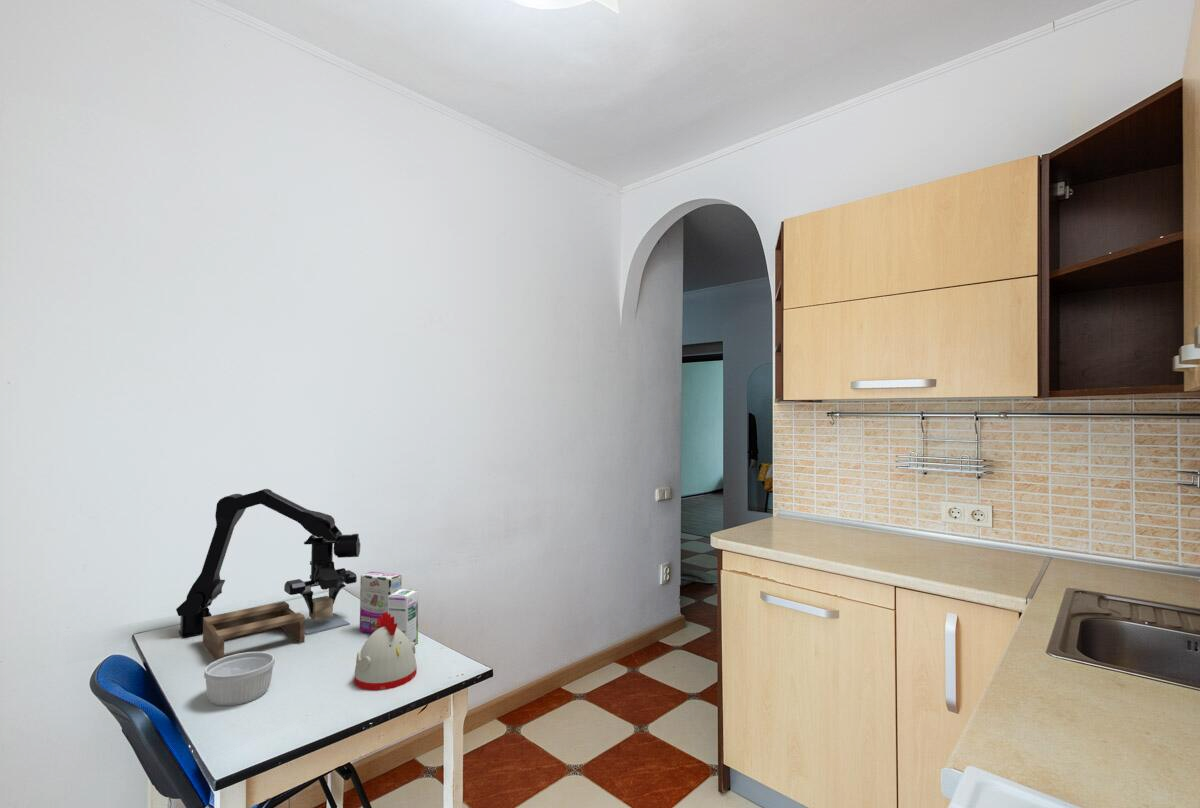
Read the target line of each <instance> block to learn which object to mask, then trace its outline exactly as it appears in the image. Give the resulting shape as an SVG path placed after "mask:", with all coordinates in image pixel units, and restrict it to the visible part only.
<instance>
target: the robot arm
mask: <svg viewBox="0 0 1200 808" xmlns="http://www.w3.org/2000/svg"><path fill="white" fill-rule="evenodd" d="M258 505H263V506H264V507H266V508H269V509H270V510H272V511H275V512H277V513H279V514H281V515H283V516H284V517H287V518H289V519H290V520H293V521H295V522H296V523H298V524H300V525H301V526H302V528H304V530H306V532H308V533H309V534H310V536H309V537H308V538H307V539H306V540H305V541H303V544H304V545H311V556H310V557H311V559H310V561H309V565H310V575H309V579H310V580H306V581H303V580H301V579H300V578H298V579H292V580H287V581H286V582H285V583H284V586H283V587H284V589H283V591H284V592H285V593H286V594H288V595H291V596H294V595H298V594H300V596H302V597H303V599H304V601H305V603H306V606H307V608H308V612H309V611H310V613H311V614H312V613H313V600H312V599H313V596H314V591H312V587H313V588H314V587H318V586H319V587H320V589H321V590H325V591H326V590H328V597H330V598H332V599H333V605H334V604H335V602H336V598H337V596H338V594H339V592H340V591H341V590H342V589H343V588H346V585H349V584H350V585H351V584H355V583H357V579H358V578H357V573H355V572H353V571H352V570H346V568H345V567H343V568H337V569H336V567H335V562H334V561H333V558H334V556H336V557H337V558H340V559H341V558H358V557H360V553H361V542H360V538H359V537H360V536H359V533H352V534H343V533H342V531H341V530H340V529H339V528H338V526H336V521H335V518H334V517H333V516H332V515H330V514H328V513H325V512H320V511H315V510H310V509H307V508H305V507H304V506H301V505H300V504H297V503H296V502H293V501H292V500H289V499H287V498H286V497H283V496H282V495H280V494H277V493H276V492H273V490H271V489H269V488H264V489H261V490H258V491H255V492H254V491H253V492H251V493H246V494H241V493H234V494H230V495H226V496H224V497H221V498H220V499H219V500H218V502H216V508H215V515H214V517H215V523H216V524H215V525H216V527H215V529H214V532H213V535H212V538H211V542H210V544H209V547H208V551H207V553H206V557H205V560H204V561H203V562H204V563H203V566H202V569H201V572H200V573H199V576H198V577H197V578H196V580H195V581H194V583H193V584H192V586H191V587H190V589H189V591H188V593H187V595H186V599H185V600H184V601H183V602H182V603H181V604H180V605H179V606H177V607H176V609H175V611H176V613H177V616H178V617H179V618H180V623H179V624H180V627H179V630H178V634H179V635H180V637H181V638H183V639H185V638H191V637H194V636H198V635H203V618H204V617H209V616H212V613H211V612H210V608H209V607H210V606H211V605H212V603H213V601H214V600H216V599H217V598H218V596H219V595H221V594H222V593H223V586H224V584H225V582H226V579H221V576H220V574H221V569H222V567H223V563H224V560H225V557H226V554H227V552H228V549H229V545H230V542H231V538H232V536H233V532H234V529H235V527H236V525H237V523H238V522H239V521H240V519H241V518H242V516H243V515H244V513H245V511H246V509H247V508H250V507H254V506H258ZM333 555H334V556H333Z"/></svg>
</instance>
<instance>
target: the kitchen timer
mask: <svg viewBox="0 0 1200 808" xmlns="http://www.w3.org/2000/svg"><path fill="white" fill-rule="evenodd" d="M377 622H378V628H379V629H377V630H376V631H375V632H374V633H373V634H370V635H369V637H368V638H367V639H366V641H365V643H364V644H363V645H362V647H361V650H360V651H357V653H356V661H355V663H356V664H355V666H354V667H355V668H354V679H353V680H354V684H355V686H356V687H358V688H360V689H362V690H367V691H383V690H384V691H385V690H389V689H395V688H398V687H401V686H403V685H406V684H407V683H409V682H411V681H412V680H413V679H414V678H415V677H416V675H417V670H418V669H417V668H418V667H417V660H416V656H415V654H416V647H415V645H416V644H415V645H414V642H411V643H410V641H409V639H408V638H407V637H406V635H405V634H404V633H403V632H402V631H401V630H399V629H398V628H397V623H396V624H394V616H393V617H391V615H390V614H388V613H387V612H385V613H383V615H382V616H380V619H377Z"/></svg>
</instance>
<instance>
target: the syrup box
mask: <svg viewBox="0 0 1200 808" xmlns="http://www.w3.org/2000/svg"><path fill="white" fill-rule="evenodd" d="M418 593H419V592H418V590H417V589H411V588H410V589H409V588H403V589H402V588H401V589H399V590H398V591H397V592H395V593H393V594H391V595H389V596H388V614H390V615H391V617H393V616H394V624H396V623H397V628H398V629H399V630H401V631H402V632H403V633H404V634H405V635H406V637H407V638H408V639H409V641H410V643H411V642H414V645H417V644H418V643H419V607H418V605H419V598H418V596H419V594H418Z"/></svg>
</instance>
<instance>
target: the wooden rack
mask: <svg viewBox="0 0 1200 808" xmlns="http://www.w3.org/2000/svg"><path fill="white" fill-rule="evenodd" d="M305 619H306V616H305V615H303V613H301V612H295V611H294V610H293V609H291V608H290V604H289V603H288V602H286V601H285V600H283V601H278V602H273V603H269V604H264V605H257V606H254V607H249V608H244V609H240V610H234V611H229V612H224V613H220V614H214V615H211V616H209V617H204V618H203V634H202V645H203V646H204V647H205V649H206V650H207V651H208V653H209V654H210V655H211V657H212V658H213V659H214V661H216V660H219V659H221V658H224V657H225V641H227V640H231V639H236V638H239V637H243V636H248V635H253V634H257V633H261V632H265V631H269V630H274V629H279V628H281V629H282V630H284V632H286V633H287V634H288V635H289V636H290V637H292V638H293V639H294V640H295V641H296V642H297V643H298V644H303V643H305V636H306V635H305Z"/></svg>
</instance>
